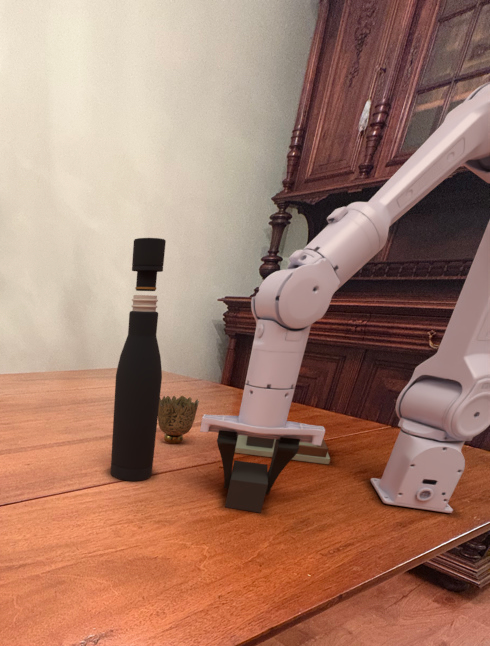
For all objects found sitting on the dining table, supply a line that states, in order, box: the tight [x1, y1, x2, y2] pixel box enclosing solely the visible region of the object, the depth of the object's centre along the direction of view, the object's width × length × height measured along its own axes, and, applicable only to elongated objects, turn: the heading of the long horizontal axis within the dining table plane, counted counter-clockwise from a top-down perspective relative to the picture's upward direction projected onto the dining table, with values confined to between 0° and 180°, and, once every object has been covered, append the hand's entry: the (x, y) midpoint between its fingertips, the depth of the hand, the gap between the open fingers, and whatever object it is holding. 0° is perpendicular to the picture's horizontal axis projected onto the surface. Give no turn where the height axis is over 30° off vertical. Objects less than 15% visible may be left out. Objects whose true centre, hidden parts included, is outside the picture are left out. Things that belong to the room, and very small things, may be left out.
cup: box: [157, 395, 200, 445], centre depth 80 cm, size 8×7×8 cm
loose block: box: [224, 459, 269, 514], centre depth 58 cm, size 8×4×4 cm, turn 160°
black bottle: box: [110, 237, 167, 482], centre depth 59 cm, size 6×6×30 cm
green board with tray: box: [234, 435, 331, 465], centre depth 78 cm, size 12×16×5 cm
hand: (246, 489), depth 58 cm, fingers closed on loose block, 4 cm apart
